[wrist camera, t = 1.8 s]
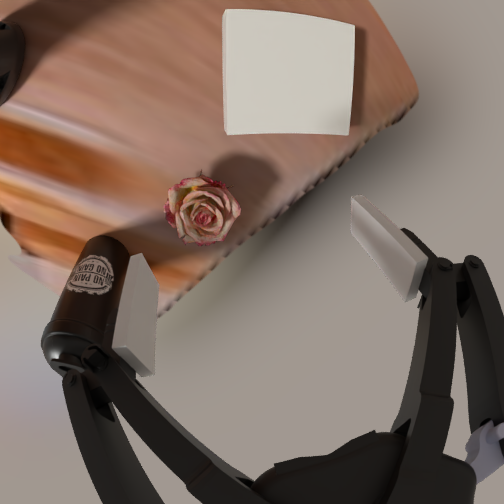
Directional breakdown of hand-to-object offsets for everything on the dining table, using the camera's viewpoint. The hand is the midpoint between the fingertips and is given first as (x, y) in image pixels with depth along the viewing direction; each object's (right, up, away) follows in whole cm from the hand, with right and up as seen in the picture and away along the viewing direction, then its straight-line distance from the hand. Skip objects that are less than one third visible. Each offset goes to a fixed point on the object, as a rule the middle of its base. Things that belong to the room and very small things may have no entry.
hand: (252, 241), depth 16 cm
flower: (-8, +8, +22) cm, 24 cm away
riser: (+4, +23, +13) cm, 27 cm away
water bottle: (-24, -1, +24) cm, 35 cm away
